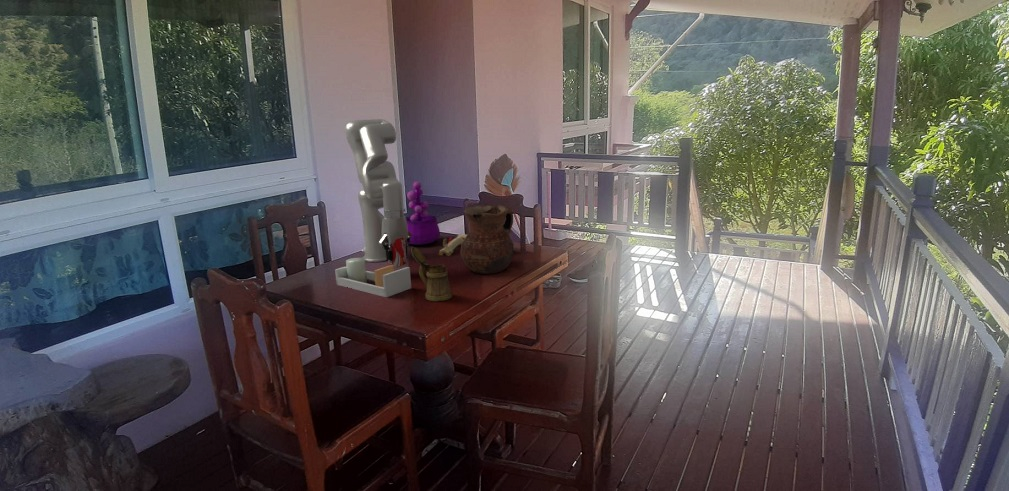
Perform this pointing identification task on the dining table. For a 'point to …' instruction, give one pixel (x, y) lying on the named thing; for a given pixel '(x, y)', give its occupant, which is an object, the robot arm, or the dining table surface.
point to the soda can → (398, 252)
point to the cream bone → (452, 244)
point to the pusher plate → (381, 272)
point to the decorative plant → (421, 220)
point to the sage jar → (356, 269)
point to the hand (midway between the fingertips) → (397, 257)
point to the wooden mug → (433, 278)
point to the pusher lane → (391, 281)
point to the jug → (488, 239)
